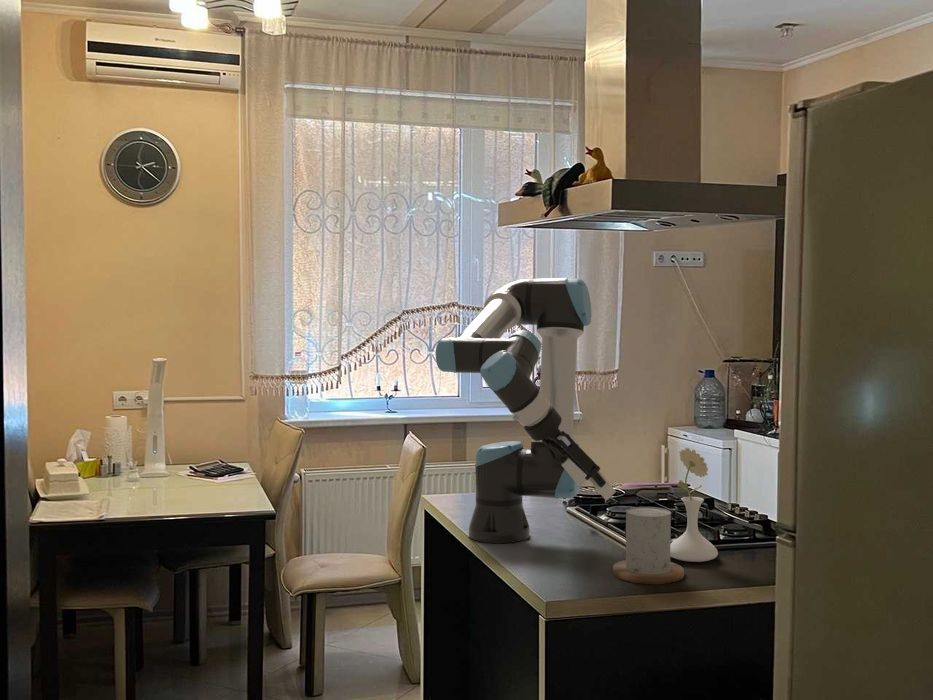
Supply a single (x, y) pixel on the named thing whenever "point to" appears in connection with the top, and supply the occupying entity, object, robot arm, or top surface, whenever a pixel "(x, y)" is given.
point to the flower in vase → (692, 517)
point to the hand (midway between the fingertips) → (596, 488)
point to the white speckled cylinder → (648, 540)
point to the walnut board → (671, 576)
